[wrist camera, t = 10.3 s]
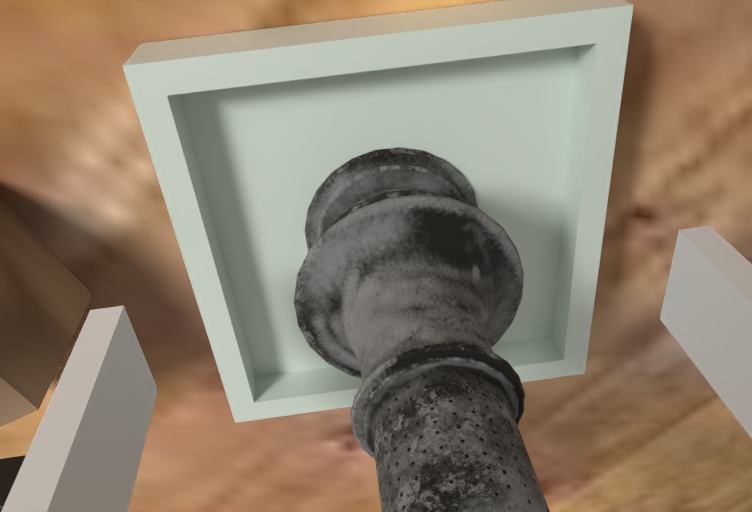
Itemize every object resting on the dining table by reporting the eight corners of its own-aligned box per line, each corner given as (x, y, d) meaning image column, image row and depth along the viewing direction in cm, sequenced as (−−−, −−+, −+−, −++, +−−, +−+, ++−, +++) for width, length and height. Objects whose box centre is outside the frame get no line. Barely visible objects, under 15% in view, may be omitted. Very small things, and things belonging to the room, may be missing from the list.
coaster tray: (141, 43, 16) (122, 65, 14) (599, -11, 16) (633, 4, 15) (240, 380, 22) (235, 422, 21) (564, 335, 23) (584, 373, 21)
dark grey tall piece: (322, 323, 20) (344, 777, 10) (269, 165, 17) (226, 601, 7) (497, 283, 20) (690, 704, 10) (477, 115, 17) (731, 490, 7)
